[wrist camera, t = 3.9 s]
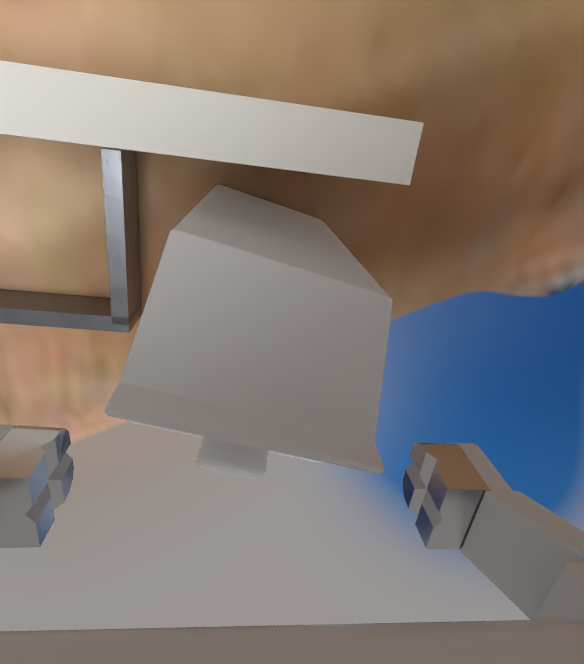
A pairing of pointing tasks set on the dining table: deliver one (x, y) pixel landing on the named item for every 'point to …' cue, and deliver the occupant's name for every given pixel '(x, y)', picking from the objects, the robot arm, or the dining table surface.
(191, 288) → the milk carton
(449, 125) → the dining table surface
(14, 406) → the dining table surface
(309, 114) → the wall board
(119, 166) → the cleat bracket
